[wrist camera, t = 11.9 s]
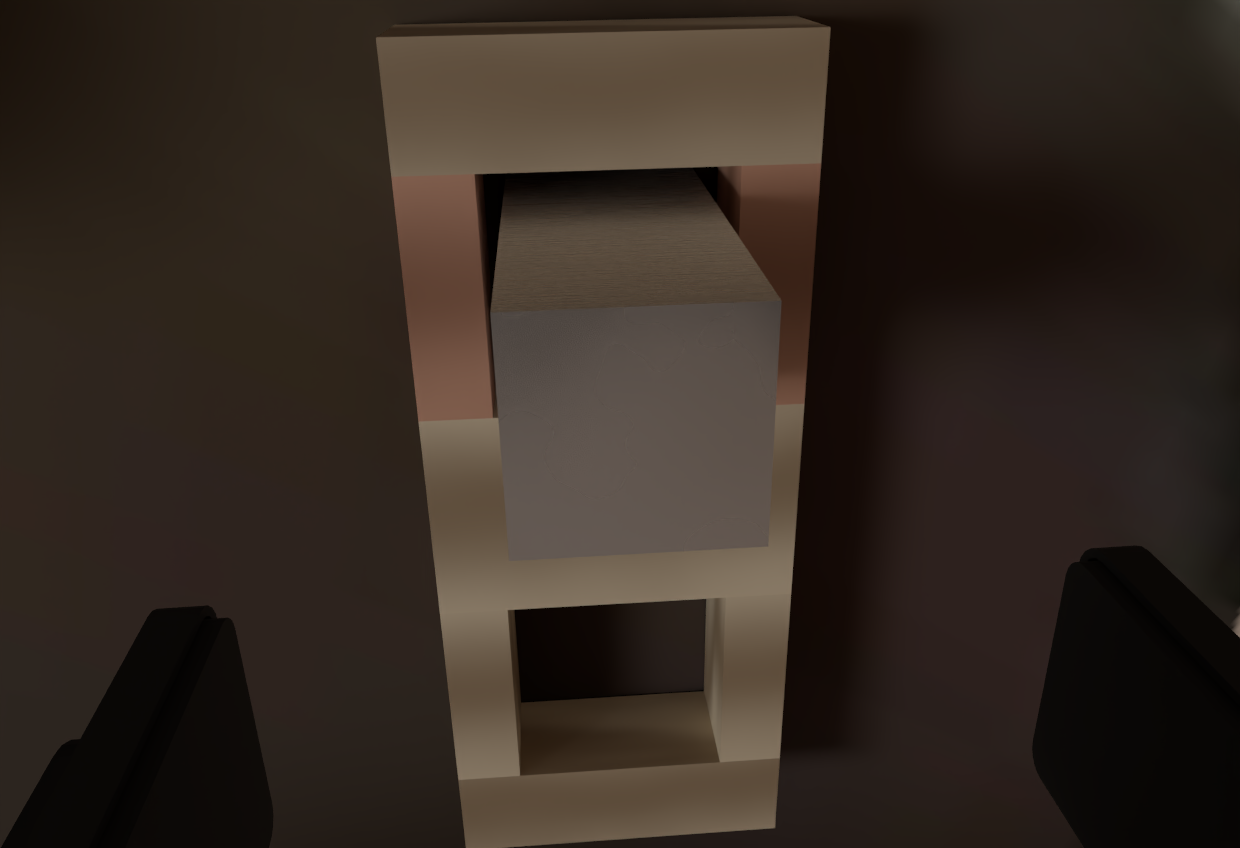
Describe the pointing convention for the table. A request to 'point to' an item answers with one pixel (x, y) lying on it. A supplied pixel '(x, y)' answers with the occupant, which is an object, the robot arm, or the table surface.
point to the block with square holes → (468, 415)
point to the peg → (630, 367)
